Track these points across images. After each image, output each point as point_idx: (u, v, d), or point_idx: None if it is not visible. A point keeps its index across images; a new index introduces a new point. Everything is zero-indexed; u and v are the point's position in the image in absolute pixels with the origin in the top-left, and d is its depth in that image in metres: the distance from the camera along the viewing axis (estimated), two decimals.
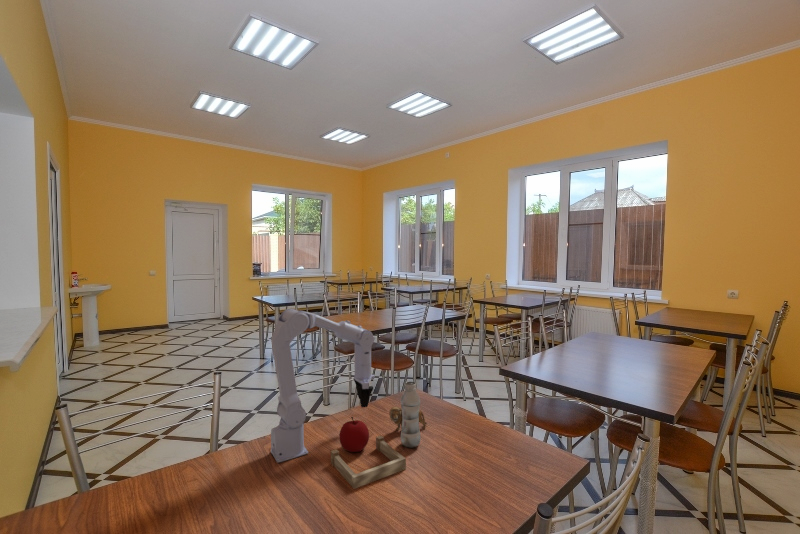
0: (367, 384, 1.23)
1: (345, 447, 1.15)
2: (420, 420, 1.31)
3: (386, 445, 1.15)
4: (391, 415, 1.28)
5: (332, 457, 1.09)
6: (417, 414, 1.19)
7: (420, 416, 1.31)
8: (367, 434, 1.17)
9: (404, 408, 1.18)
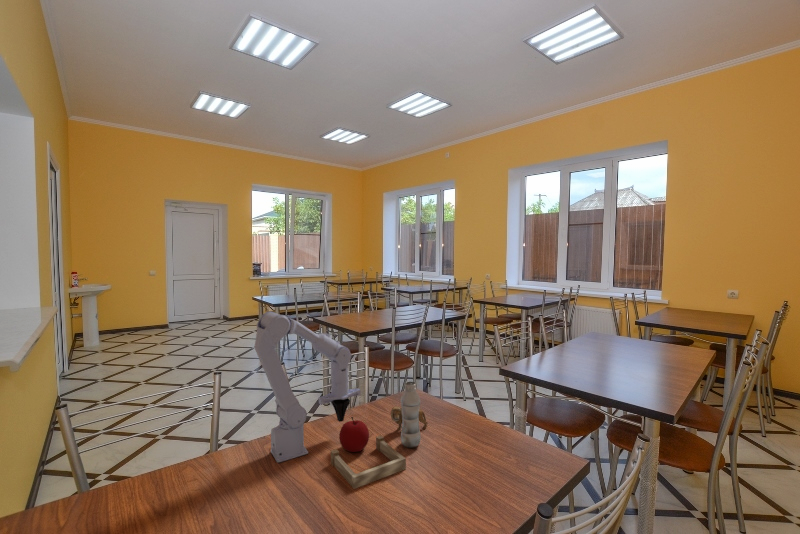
0: (320, 400, 1.22)
1: (345, 447, 1.15)
2: (421, 420, 1.31)
3: (386, 445, 1.15)
4: (392, 415, 1.28)
5: (332, 457, 1.09)
6: (417, 414, 1.19)
7: (421, 416, 1.31)
8: (367, 434, 1.17)
9: (404, 408, 1.18)
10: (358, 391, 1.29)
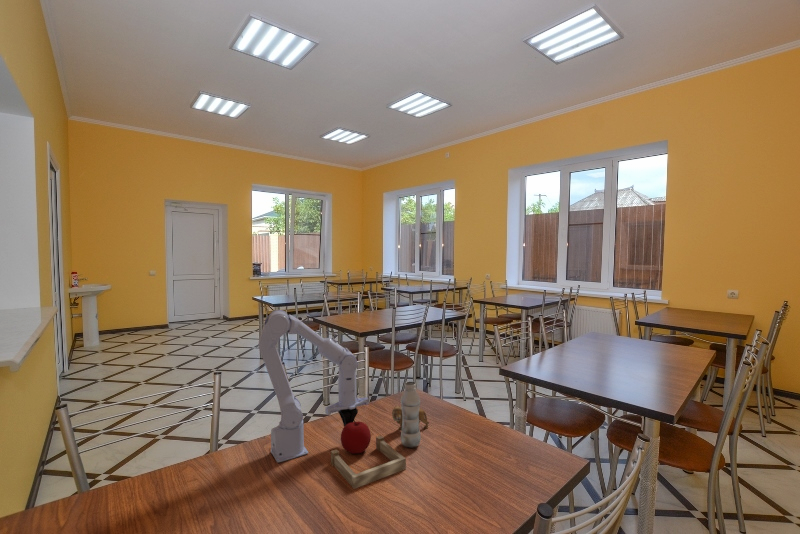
0: (327, 410, 1.18)
1: (346, 448, 1.14)
2: (422, 419, 1.31)
3: (386, 445, 1.15)
4: (394, 415, 1.28)
5: (332, 457, 1.09)
6: (417, 414, 1.19)
7: (422, 415, 1.32)
8: (369, 435, 1.16)
9: (404, 408, 1.18)
10: (366, 400, 1.25)
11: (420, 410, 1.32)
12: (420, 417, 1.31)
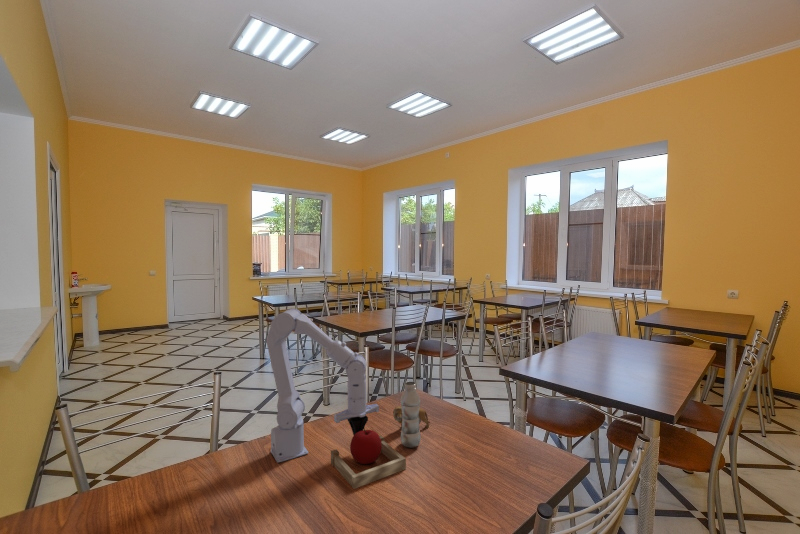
0: (336, 418, 1.12)
1: (356, 458, 1.09)
2: (423, 419, 1.32)
3: (386, 445, 1.15)
4: (395, 414, 1.28)
5: (332, 457, 1.09)
6: (417, 414, 1.19)
7: (423, 415, 1.32)
8: (380, 445, 1.10)
9: (404, 408, 1.18)
10: (376, 407, 1.19)
11: (421, 410, 1.32)
12: (421, 417, 1.31)
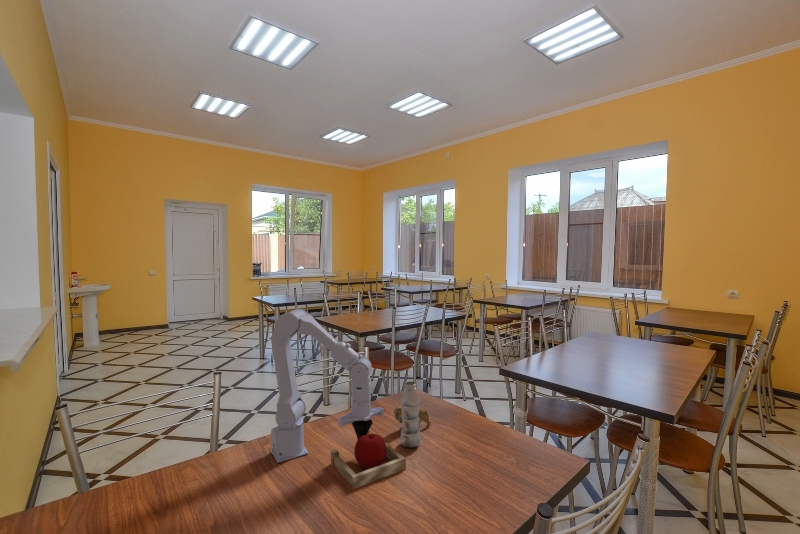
0: (340, 421, 1.09)
1: (361, 463, 1.06)
2: (424, 419, 1.32)
3: (386, 445, 1.15)
4: (396, 414, 1.28)
5: (332, 457, 1.09)
6: (417, 414, 1.19)
7: (424, 415, 1.32)
8: (384, 449, 1.08)
9: (404, 408, 1.18)
10: (381, 410, 1.17)
11: (422, 410, 1.32)
12: (422, 417, 1.32)
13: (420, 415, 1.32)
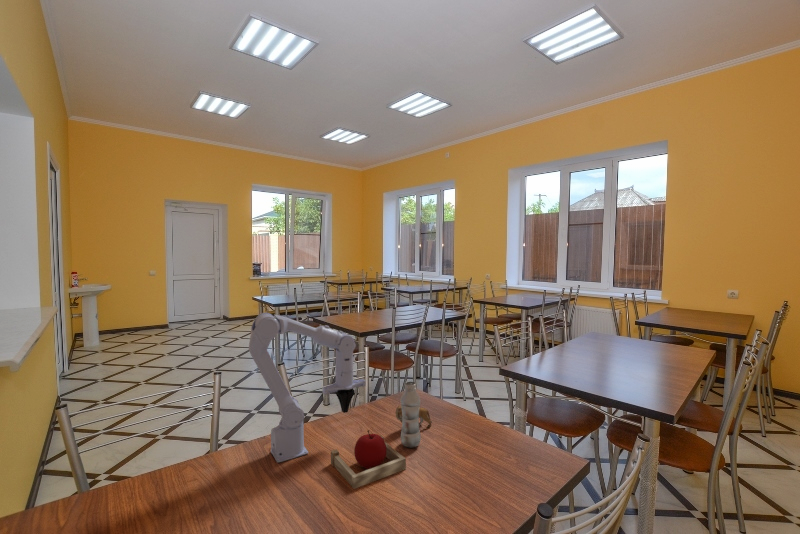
0: (324, 390, 1.19)
1: (361, 463, 1.06)
2: (426, 419, 1.32)
3: (386, 445, 1.15)
4: (397, 414, 1.28)
5: (332, 457, 1.09)
6: (417, 414, 1.19)
7: (426, 415, 1.32)
8: (384, 449, 1.08)
9: (404, 408, 1.18)
10: (363, 382, 1.26)
11: (423, 409, 1.33)
12: (423, 416, 1.32)
13: (421, 415, 1.32)
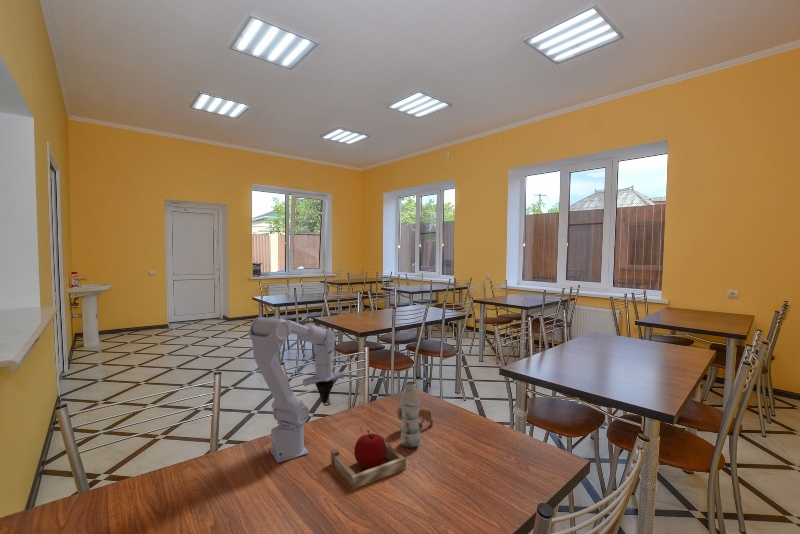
0: (304, 381, 1.26)
1: (361, 463, 1.06)
2: (427, 418, 1.32)
3: (386, 445, 1.15)
4: (399, 414, 1.29)
5: (332, 457, 1.09)
6: (417, 414, 1.19)
7: (427, 414, 1.32)
8: (384, 449, 1.08)
9: (404, 408, 1.18)
10: (342, 374, 1.33)
11: (425, 409, 1.33)
12: (425, 416, 1.32)
13: (423, 414, 1.32)
